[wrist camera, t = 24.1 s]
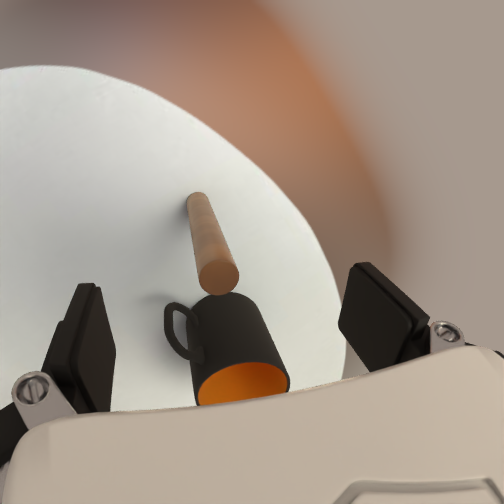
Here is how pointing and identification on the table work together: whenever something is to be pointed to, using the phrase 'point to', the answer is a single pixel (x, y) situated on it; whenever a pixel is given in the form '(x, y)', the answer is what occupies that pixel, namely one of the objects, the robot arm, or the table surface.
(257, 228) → the table surface
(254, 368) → the mug
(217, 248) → the stick
